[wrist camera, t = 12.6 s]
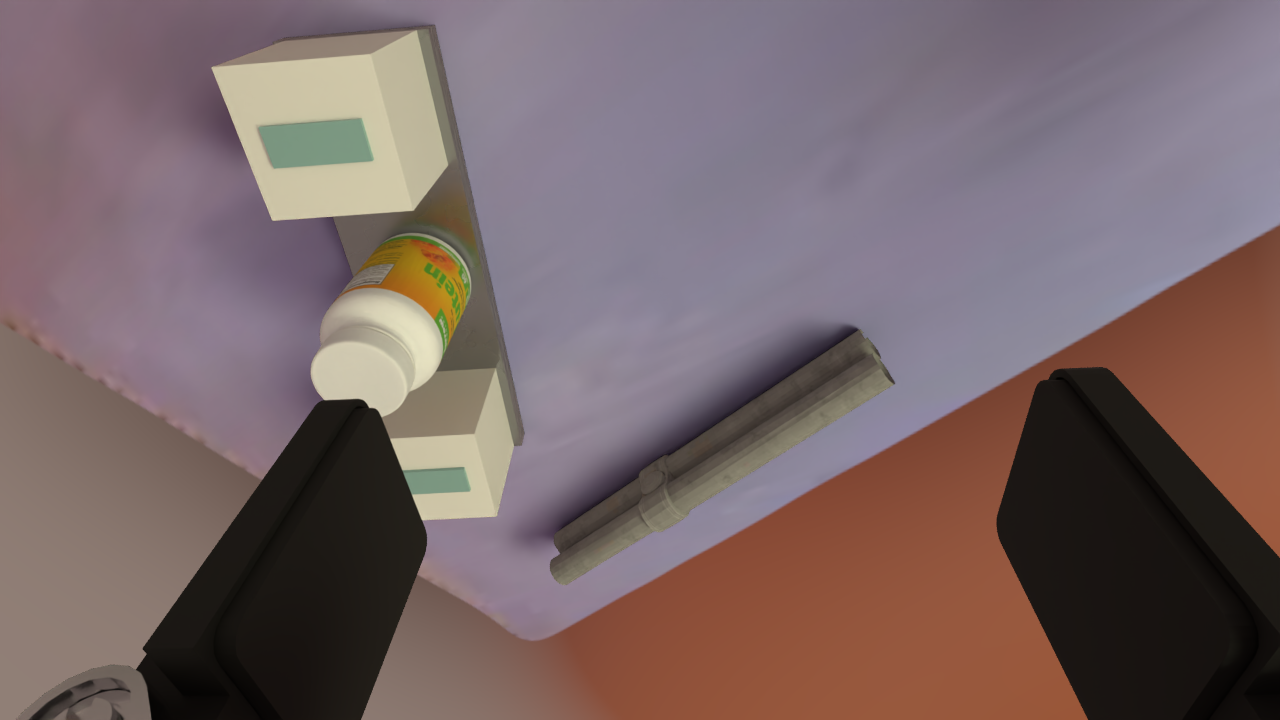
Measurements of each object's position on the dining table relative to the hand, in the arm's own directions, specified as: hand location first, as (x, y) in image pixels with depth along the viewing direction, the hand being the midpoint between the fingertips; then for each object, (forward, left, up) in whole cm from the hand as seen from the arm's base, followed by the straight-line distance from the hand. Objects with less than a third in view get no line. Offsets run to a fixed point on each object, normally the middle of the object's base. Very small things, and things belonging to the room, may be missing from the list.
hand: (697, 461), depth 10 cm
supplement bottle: (+13, +9, -25) cm, 30 cm away
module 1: (+14, 0, -25) cm, 29 cm away
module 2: (+14, +18, -25) cm, 34 cm away
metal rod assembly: (-1, +23, -27) cm, 35 cm away
